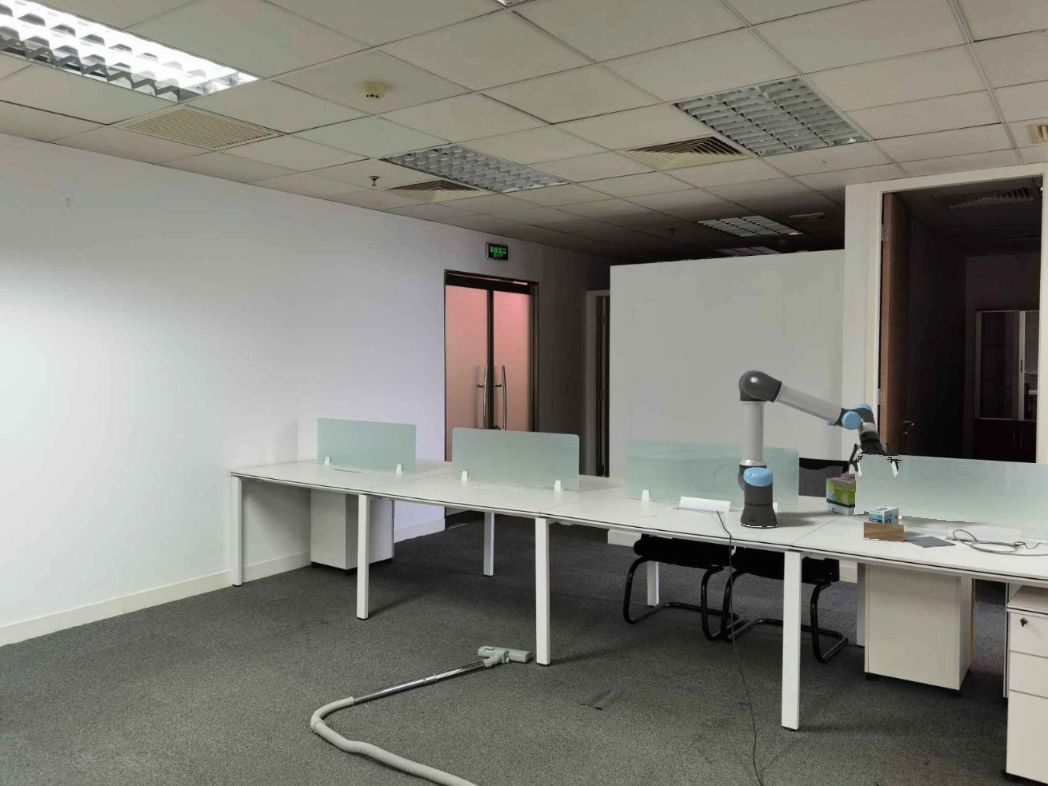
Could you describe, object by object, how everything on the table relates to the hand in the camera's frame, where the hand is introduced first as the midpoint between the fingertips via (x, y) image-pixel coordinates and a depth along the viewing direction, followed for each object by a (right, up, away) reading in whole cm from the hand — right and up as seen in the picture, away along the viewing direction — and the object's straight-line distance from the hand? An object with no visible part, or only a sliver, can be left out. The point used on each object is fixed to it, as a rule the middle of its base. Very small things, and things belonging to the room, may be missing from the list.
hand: (878, 477), depth 323 cm
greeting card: (+8, -19, +52) cm, 56 cm away
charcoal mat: (+9, -22, -22) cm, 33 cm away
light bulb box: (-2, -22, -9) cm, 24 cm away
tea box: (+1, -20, +35) cm, 40 cm away
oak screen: (-6, -22, -18) cm, 29 cm away
